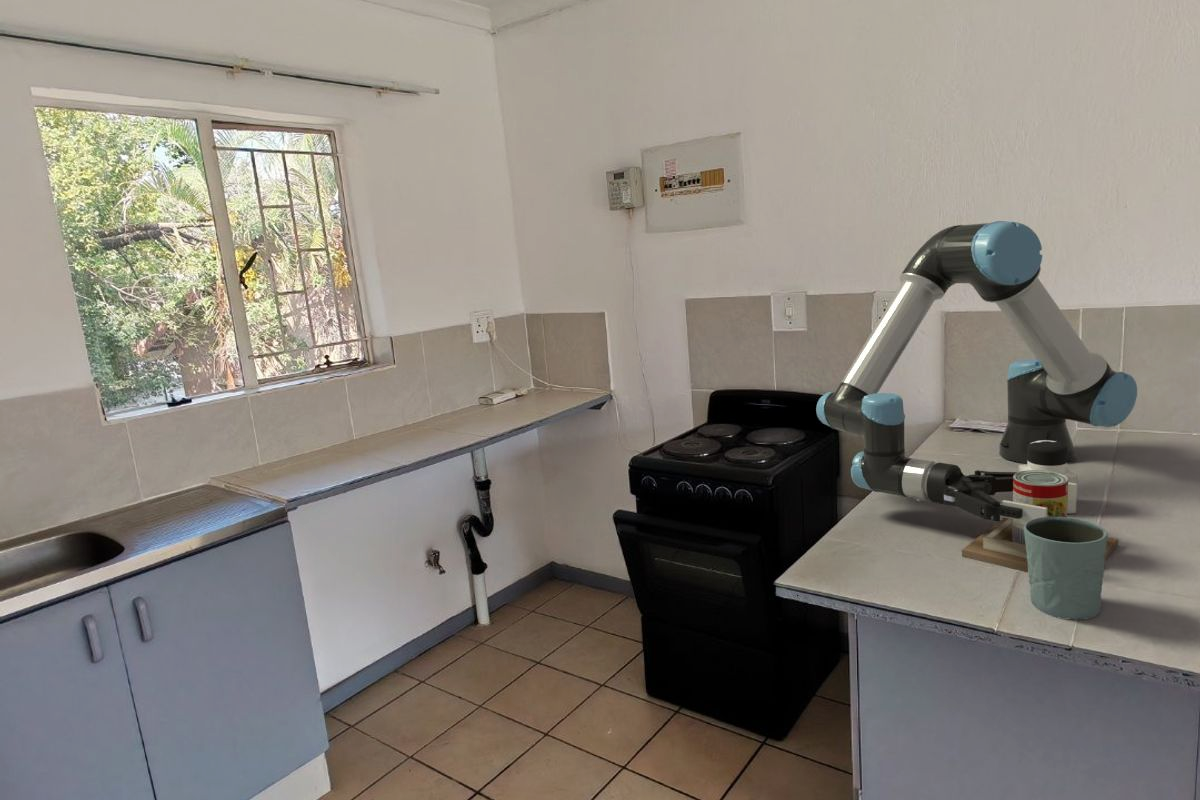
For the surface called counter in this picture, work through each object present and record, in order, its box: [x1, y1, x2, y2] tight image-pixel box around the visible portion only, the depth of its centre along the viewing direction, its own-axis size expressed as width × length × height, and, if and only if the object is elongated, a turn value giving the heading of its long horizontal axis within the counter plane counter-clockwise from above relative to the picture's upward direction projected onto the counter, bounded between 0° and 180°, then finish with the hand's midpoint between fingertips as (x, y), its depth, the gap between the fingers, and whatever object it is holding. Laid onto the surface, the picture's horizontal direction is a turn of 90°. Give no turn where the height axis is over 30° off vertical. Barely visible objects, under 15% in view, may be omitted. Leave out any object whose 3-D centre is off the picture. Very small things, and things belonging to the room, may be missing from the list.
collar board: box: [961, 517, 1119, 573], centre depth 125 cm, size 18×18×3 cm
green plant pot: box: [1024, 516, 1108, 620], centre depth 107 cm, size 10×10×12 cm
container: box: [1018, 440, 1078, 515], centre depth 141 cm, size 8×8×13 cm
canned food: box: [1012, 470, 1068, 545], centre depth 124 cm, size 8×8×12 cm
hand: (1062, 503), depth 121 cm, fingers open, 13 cm apart
